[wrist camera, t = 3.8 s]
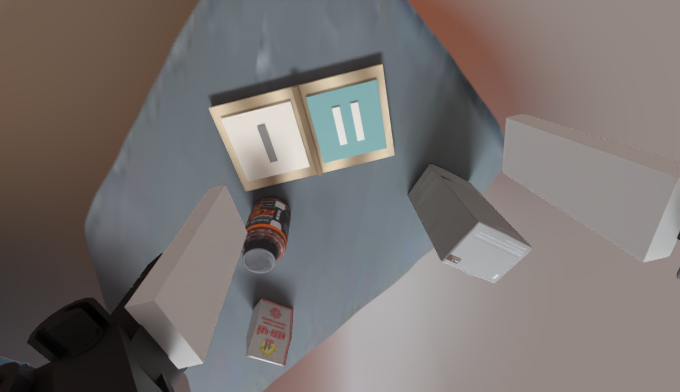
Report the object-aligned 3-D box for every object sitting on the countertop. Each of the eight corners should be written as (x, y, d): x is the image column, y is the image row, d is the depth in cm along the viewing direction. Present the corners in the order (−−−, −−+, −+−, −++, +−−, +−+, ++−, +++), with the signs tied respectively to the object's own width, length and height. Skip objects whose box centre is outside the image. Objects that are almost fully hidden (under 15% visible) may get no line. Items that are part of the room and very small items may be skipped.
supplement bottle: (277, 189, 42) (266, 233, 32) (298, 217, 44) (294, 267, 34) (244, 206, 42) (223, 255, 33) (266, 233, 45) (254, 286, 35)
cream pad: (248, 180, 39) (247, 182, 39) (221, 118, 35) (220, 119, 34) (309, 165, 39) (310, 167, 39) (290, 101, 35) (290, 101, 34)
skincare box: (469, 181, 44) (542, 244, 30) (442, 216, 47) (498, 288, 33) (427, 160, 42) (485, 217, 28) (401, 198, 44) (442, 267, 30)
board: (247, 187, 41) (244, 193, 39) (211, 106, 35) (206, 109, 34) (392, 152, 40) (395, 156, 39) (380, 63, 35) (383, 64, 33)
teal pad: (323, 162, 39) (323, 163, 38) (306, 97, 35) (306, 97, 34) (386, 147, 39) (387, 148, 38) (376, 79, 34) (377, 79, 34)
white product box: (284, 320, 55) (279, 372, 47) (252, 309, 53) (241, 361, 44) (293, 309, 54) (289, 360, 45) (261, 297, 52) (251, 349, 43)
